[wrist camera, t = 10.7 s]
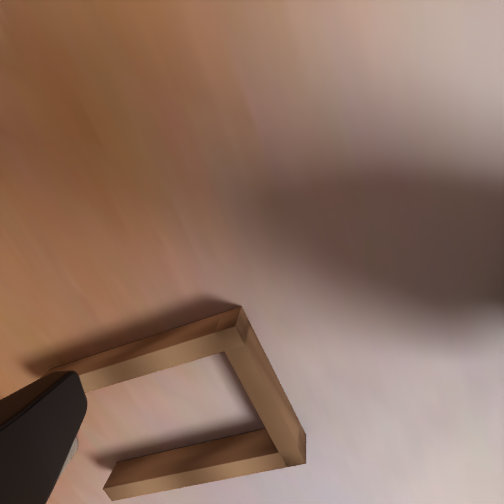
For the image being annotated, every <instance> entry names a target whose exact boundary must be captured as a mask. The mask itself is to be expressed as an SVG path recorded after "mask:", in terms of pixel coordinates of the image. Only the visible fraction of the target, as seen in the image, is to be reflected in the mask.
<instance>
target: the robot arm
mask: <svg viewBox="0 0 504 504" xmlns="http://www.w3.org/2000/svg"><path fill="white" fill-rule="evenodd" d="M86 410H87V398H86V395H85V392H84V389H83V386H82V383H81V380H80V377H79V375H78V373H77V372H76V371H74V370H56V371H53V372H51V373H49V374H47V375H46V376H44V377H42V378H40V379H38V380H36V381H35V382H33V383H31V384H29V385H27V386H25V387H24V388H22V389H20V390H18V391H16V392H14V393H13V394H11V395H9V396H7V397H5V398H3V399H2V400H0V504H46V502H47V500H48V498H49V496H50V494H51V492H52V490H53V488H54V486H55V484H56V482H57V480H58V478H59V475H60V473H61V471H62V468H63V466H64V464H65V461H66V459H67V457H68V454H69V452H70V449H71V447H72V445H73V442H74V440H75V438H76V435H77V433H78V431H79V428H80V426H81V423H82V421H83V419H84V416H85V414H86Z"/></svg>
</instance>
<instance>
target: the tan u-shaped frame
mask: <svg viewBox="0 0 504 504" xmlns="http://www.w3.org/2000/svg"><path fill="white" fill-rule="evenodd" d="M220 352H225V354H226V356H227V357H228V359H229V361H230V363H231V365H232V367H233V368H234V370H235V372H236V374H237V376H238V378H239V380H240V381H241V383H242V385H243V387H244V389H245V391H246V393H247V394H248V396H249V398H250V400H251V402H252V404H253V406H254V407H255V409H256V411H257V413H258V415H259V417H260V419H261V420H262V422H263V424H264V426H265V428H266V429H262V430H257V431H253V432H249V433H244V434H240V435H235V436H231V437H227V438H222V439H218V440H213V441H209V442H205V443H200V444H196V445H191V446H187V447H183V448H178V449H174V450H169V451H165V452H161V453H156V454H152V455H147V456H143V457H139V458H134V459H130V460H125V461H121V462H117V463H116V465H115V467H114V469H113V471H112V473H111V474H110V476H109V478H108V480H107V482H106V484H105V486H104V488H103V490H104V491H105V492H106V494H107V495H108V496H109V498H110V499H111V500H112V501H115V500H120V499H125V498H130V497H135V496H141V495H146V494H151V493H156V492H161V491H166V490H172V489H177V488H182V487H187V486H192V485H197V484H203V483H208V482H213V481H218V480H223V479H228V478H234V477H239V476H244V475H249V474H254V473H259V472H265V471H270V470H275V469H280V468H285V467H290V466H296V465H301V464H306V434H305V432H304V430H303V428H302V426H301V424H300V422H299V420H298V418H297V416H296V414H295V412H294V410H293V408H292V406H291V404H290V402H289V400H288V398H287V396H286V394H285V392H284V390H283V388H282V386H281V384H280V382H279V380H278V378H277V376H276V374H275V372H274V370H273V368H272V366H271V364H270V362H269V360H268V358H267V356H266V354H265V352H264V350H263V348H262V346H261V344H260V342H259V340H258V338H257V336H256V334H255V332H254V330H253V328H252V326H251V324H250V322H249V320H248V318H247V316H246V314H245V312H244V310H243V308H242V306H241V307H238V308H235V309H232V310H229V311H226V312H223V313H220V314H217V315H214V316H211V317H208V318H205V319H202V320H199V321H196V322H193V323H190V324H186V325H183V326H180V327H177V328H174V329H171V330H168V331H165V332H162V333H159V334H156V335H153V336H150V337H147V338H144V339H141V340H138V341H135V342H132V343H129V344H126V345H123V346H120V347H117V348H114V349H111V350H108V351H105V352H102V353H99V354H96V355H93V356H90V357H86V358H83V359H80V360H77V361H74V362H71V363H68V364H65V365H62V366H59V367H56V368H53V369H50V370H49V371H48V372H47V373H46V374H45V375H44V376H46V375H47V374H49V373H51V372H53V371H56V370H74V371H76V372H77V373H78V375H79V377H80V380H81V383H82V386H83V389H84V392H85V393H86V392H89V391H93V390H96V389H100V388H103V387H106V386H110V385H113V384H116V383H120V382H123V381H126V380H130V379H133V378H136V377H140V376H143V375H147V374H150V373H153V372H157V371H160V370H163V369H167V368H170V367H173V366H177V365H180V364H183V363H187V362H190V361H194V360H197V359H200V358H204V357H207V356H210V355H214V354H217V353H220ZM44 376H43V377H44Z"/></svg>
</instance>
